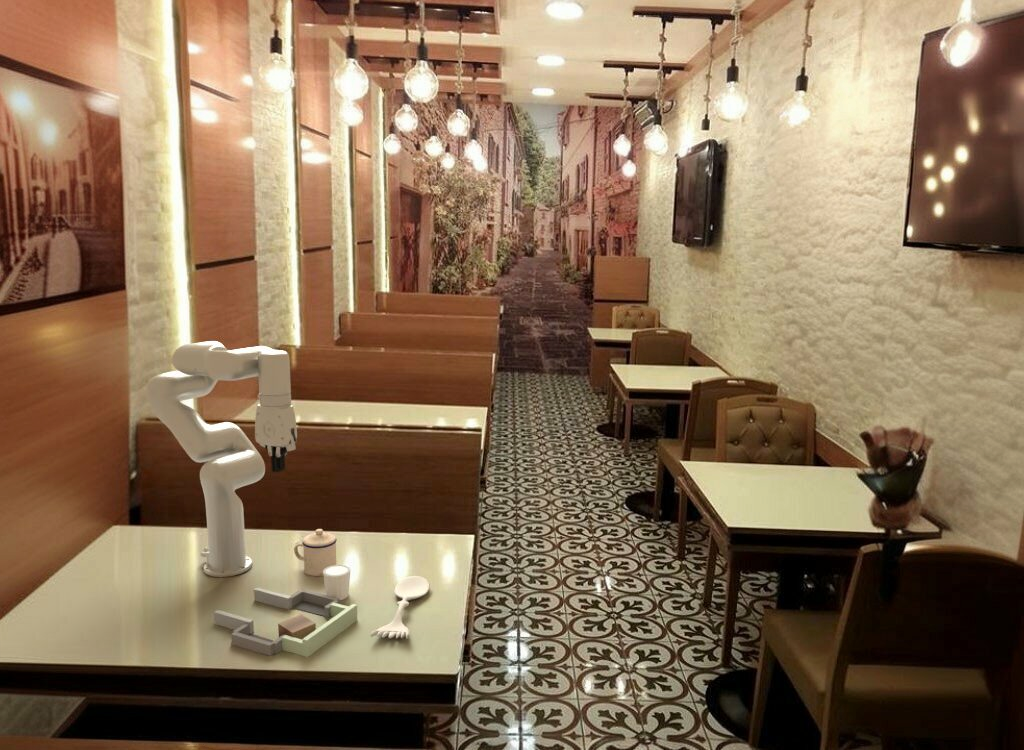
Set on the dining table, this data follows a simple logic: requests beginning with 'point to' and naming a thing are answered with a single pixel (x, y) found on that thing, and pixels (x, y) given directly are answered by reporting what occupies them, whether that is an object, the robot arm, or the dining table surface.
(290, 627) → the walnut block
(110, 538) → the dining table surface
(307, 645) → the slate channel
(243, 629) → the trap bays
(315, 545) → the teacup with lid
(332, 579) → the shot glass
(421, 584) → the spoon
